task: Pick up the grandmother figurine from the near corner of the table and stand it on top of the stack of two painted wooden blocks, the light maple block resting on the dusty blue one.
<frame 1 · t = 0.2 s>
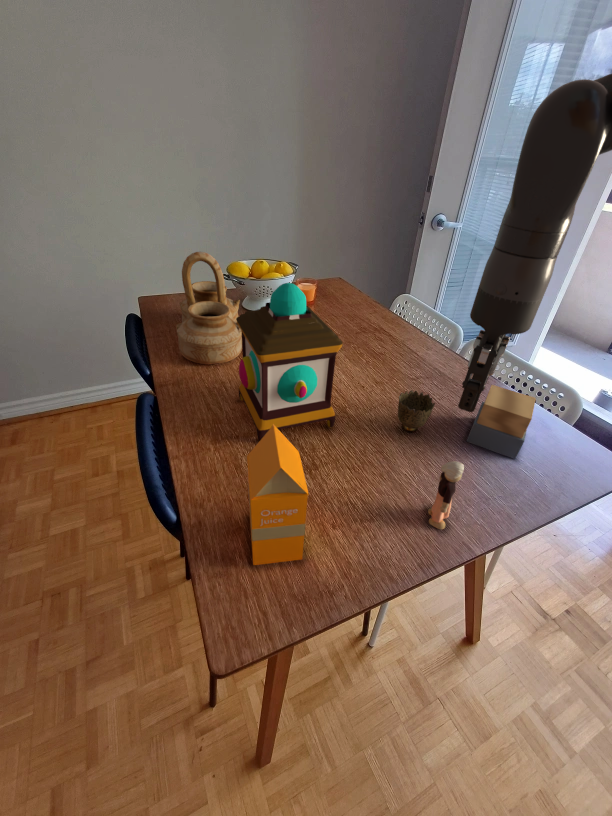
hand: (472, 395, 59), 23 cm above the table, tool pointing down, fingers open, 8 cm apart
base block: (494, 437, 88), on the table, touching top block
cup: (409, 429, 89), on the table
ceramic vessel: (212, 340, 119), on the table
grandmother figurine: (436, 516, 69), on the table
orange juice: (275, 538, 64), on the table
top block: (502, 419, 85), point 5 cm above the table, touching base block
decorative lantern: (284, 413, 91), on the table
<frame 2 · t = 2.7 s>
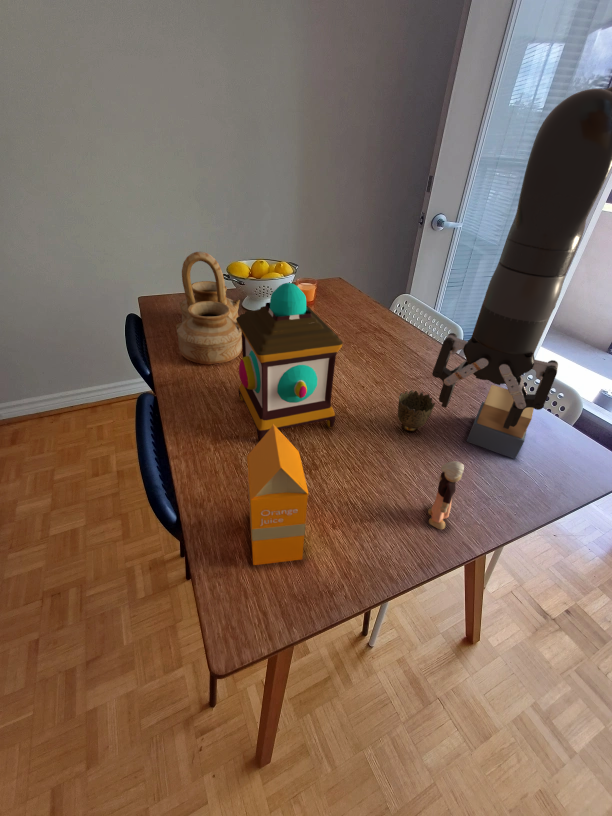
hand: (475, 414, 57), 22 cm above the table, tool pointing down, fingers open, 8 cm apart
nothing on the table moved.
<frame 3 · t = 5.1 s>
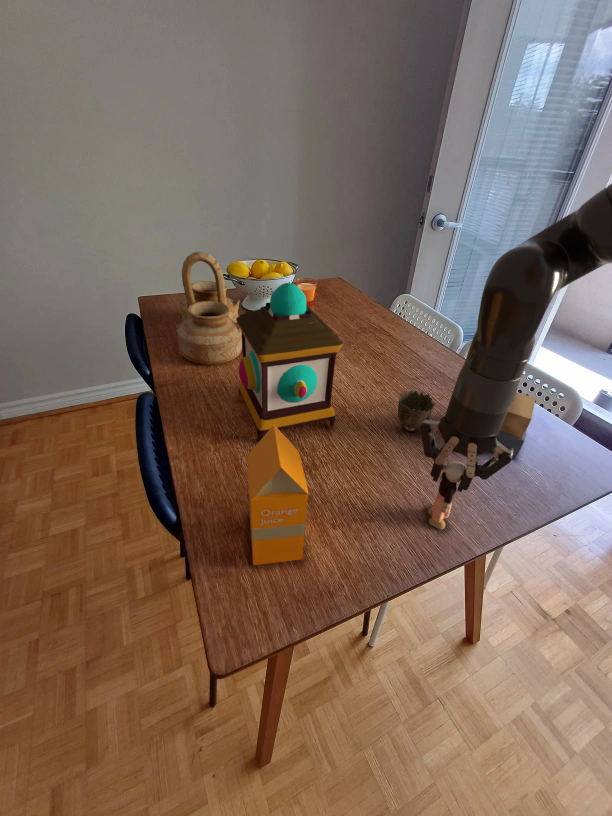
hand: (448, 482, 64), 8 cm above the table, tool pointing down, fingers closed on grandmother figurine, 3 cm apart
grandmother figurine: (436, 516, 69), on the table, touching gripper
everything else where it was.
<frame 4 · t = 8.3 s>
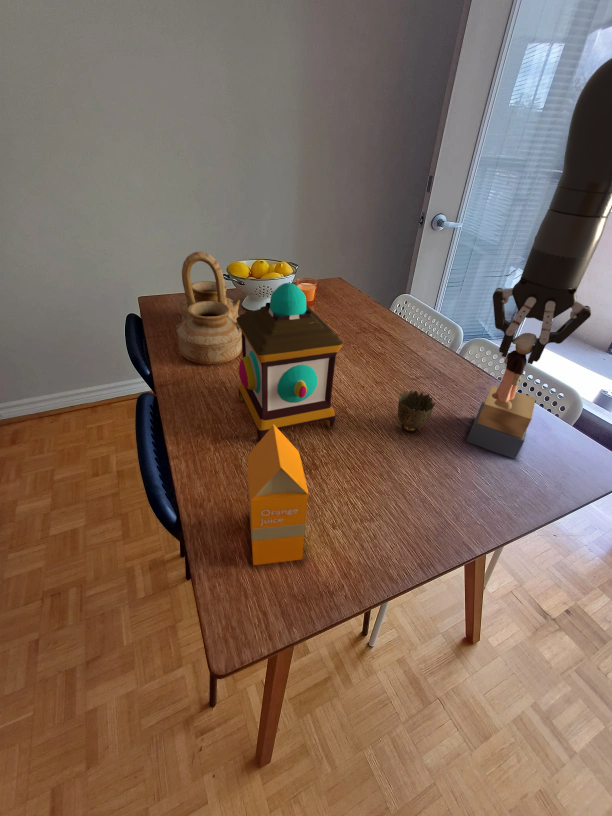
hand: (517, 358, 65), 25 cm above the table, tool pointing down, fingers closed on grandmother figurine, 3 cm apart
grandmother figurine: (500, 400, 70), point 17 cm above the table, touching gripper
everything else where it was.
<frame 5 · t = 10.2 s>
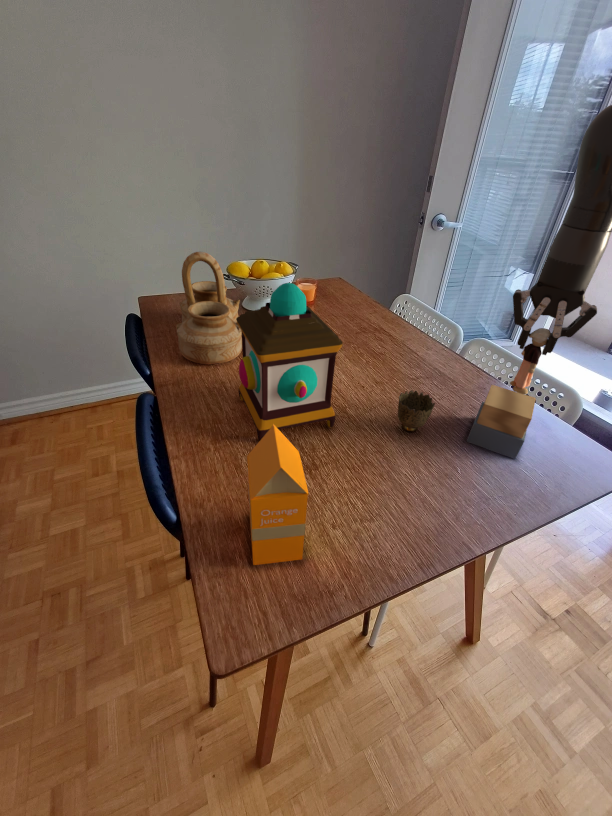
hand: (533, 350, 75), 22 cm above the table, tool pointing down, fingers closed on grandmother figurine, 3 cm apart
grandmother figurine: (517, 387, 80), point 13 cm above the table, touching gripper
everything else where it was.
when the fingers open (18 cm above the table, at t = 11.6 s): grandmother figurine stays where it is, resting on top block.
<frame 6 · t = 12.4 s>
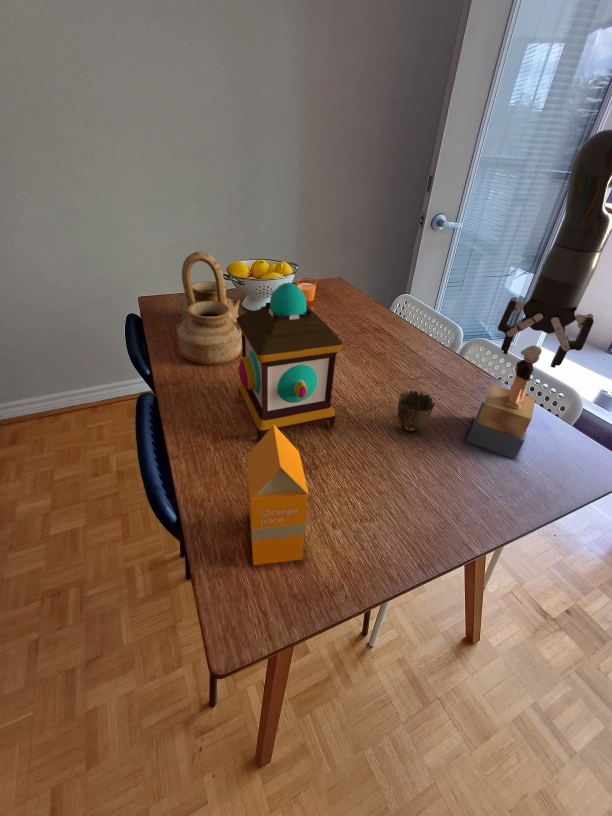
hand: (528, 359, 76), 20 cm above the table, tool pointing down, fingers open, 8 cm apart
grandmother figurine: (511, 402, 82), point 10 cm above the table, touching top block
top block: (502, 419, 85), point 5 cm above the table, touching base block, grandmother figurine
everything else where it was.
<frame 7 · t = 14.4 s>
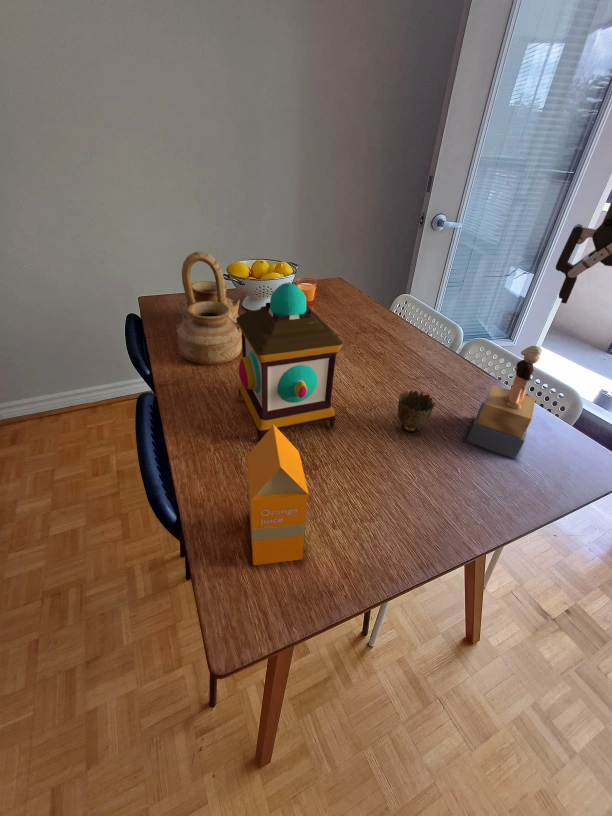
hand: (596, 308, 58), 35 cm above the table, tool pointing down, fingers open, 8 cm apart
nothing on the table moved.
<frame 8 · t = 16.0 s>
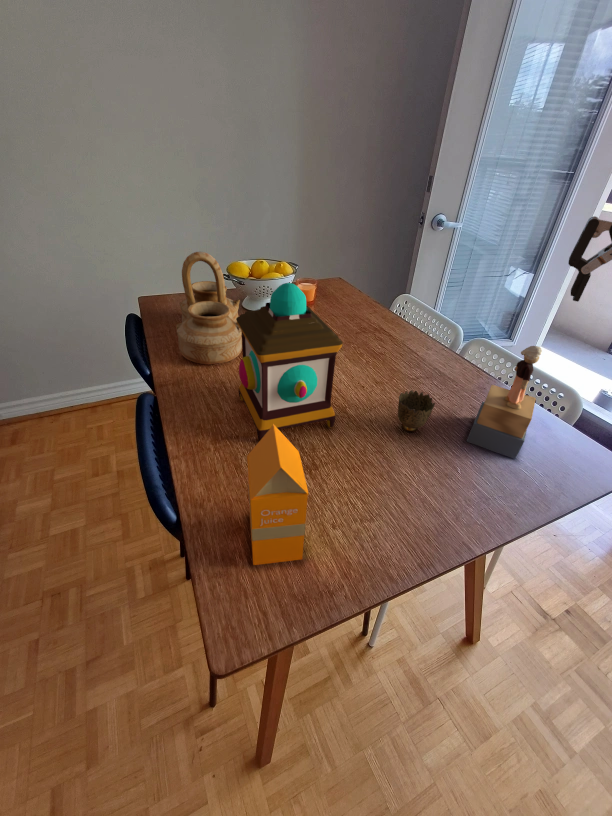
hand: (610, 307, 55), 36 cm above the table, tool pointing down, fingers open, 8 cm apart
nothing on the table moved.
at the end: grandmother figurine 0.2 cm off-centre on the top block, point 4.8 cm above the top block's base; grandmother figurine tilted 0°; top block 0.0 cm off-centre on the base block, point 5.0 cm above the base block's base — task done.
